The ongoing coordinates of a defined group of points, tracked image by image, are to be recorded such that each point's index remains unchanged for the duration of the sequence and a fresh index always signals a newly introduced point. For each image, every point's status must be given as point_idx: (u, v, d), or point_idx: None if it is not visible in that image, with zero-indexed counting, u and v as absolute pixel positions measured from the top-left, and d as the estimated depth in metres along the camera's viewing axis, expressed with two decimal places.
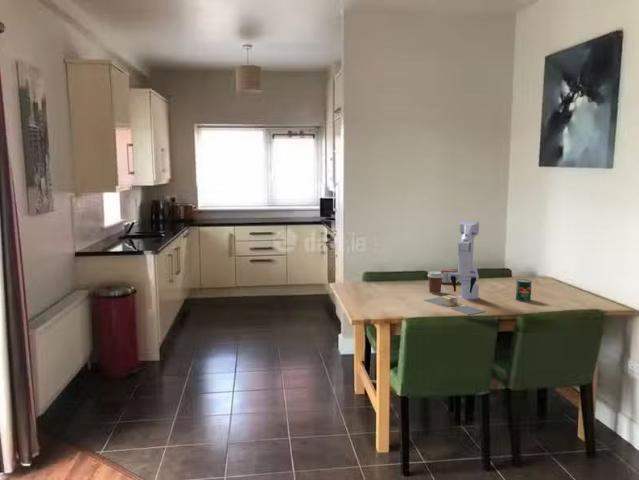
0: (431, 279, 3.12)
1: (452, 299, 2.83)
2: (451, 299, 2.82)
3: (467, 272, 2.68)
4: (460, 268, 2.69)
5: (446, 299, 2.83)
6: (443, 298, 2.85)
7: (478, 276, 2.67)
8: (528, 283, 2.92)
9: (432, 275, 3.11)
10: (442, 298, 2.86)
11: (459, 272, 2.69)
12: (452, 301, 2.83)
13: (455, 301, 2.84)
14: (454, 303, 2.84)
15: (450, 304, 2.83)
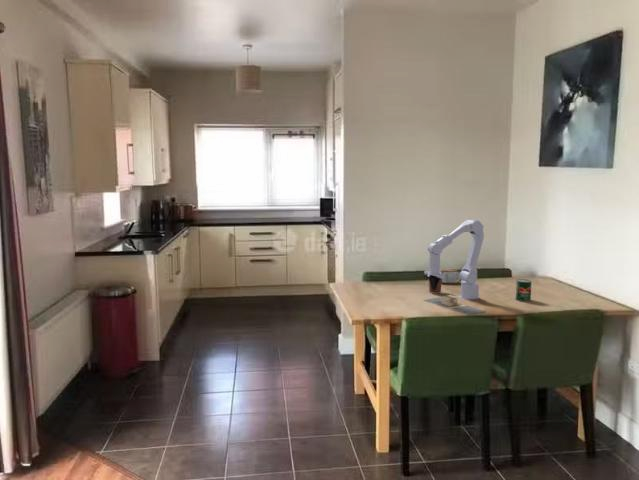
0: None
1: (452, 299, 2.83)
2: (451, 299, 2.82)
3: (434, 272, 2.92)
4: (429, 268, 2.94)
5: (446, 299, 2.83)
6: (443, 298, 2.85)
7: (443, 276, 2.88)
8: (528, 283, 2.92)
9: None
10: (442, 298, 2.86)
11: (429, 271, 2.95)
12: (452, 301, 2.83)
13: (455, 301, 2.84)
14: (454, 303, 2.84)
15: (450, 304, 2.83)
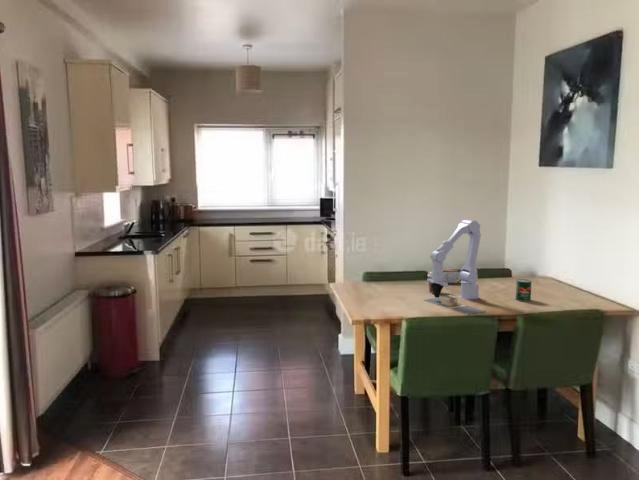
0: None
1: (452, 299, 2.83)
2: (451, 299, 2.82)
3: (437, 280, 2.90)
4: (432, 275, 2.93)
5: (446, 299, 2.83)
6: (443, 298, 2.85)
7: (446, 284, 2.87)
8: (528, 283, 2.92)
9: None
10: (442, 298, 2.86)
11: (432, 279, 2.93)
12: (452, 301, 2.83)
13: (455, 301, 2.84)
14: (454, 303, 2.84)
15: (450, 304, 2.83)
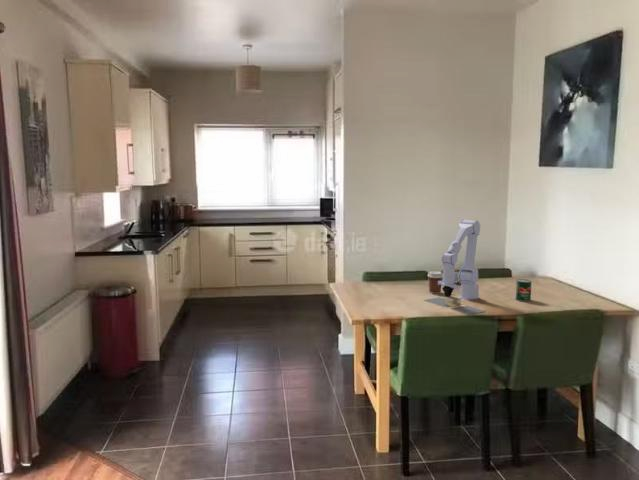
0: (431, 279, 3.12)
1: (455, 300, 2.81)
2: (454, 300, 2.80)
3: (448, 283, 2.83)
4: (443, 278, 2.85)
5: (449, 300, 2.81)
6: (446, 299, 2.83)
7: (457, 287, 2.79)
8: (528, 283, 2.92)
9: (432, 275, 3.11)
10: (445, 298, 2.84)
11: (443, 282, 2.86)
12: (455, 302, 2.81)
13: (458, 302, 2.82)
14: (457, 304, 2.82)
15: (453, 305, 2.81)
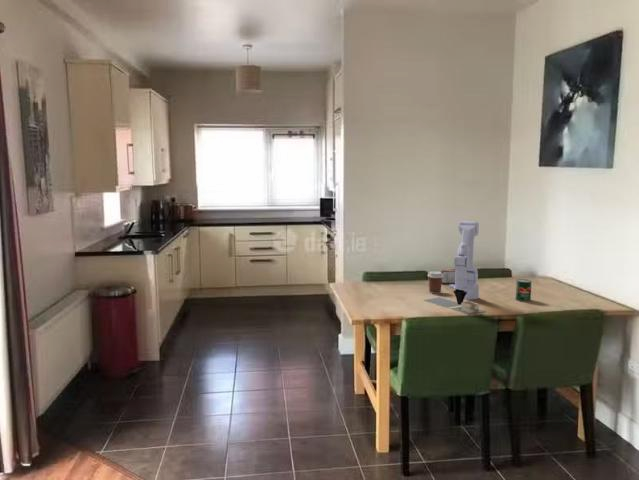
0: (431, 279, 3.12)
1: (473, 306, 2.69)
2: (472, 306, 2.69)
3: (460, 286, 2.75)
4: (455, 281, 2.77)
5: (466, 305, 2.70)
6: (463, 304, 2.72)
7: (470, 291, 2.71)
8: (528, 283, 2.92)
9: (432, 275, 3.11)
10: (462, 304, 2.73)
11: (455, 285, 2.78)
12: (473, 308, 2.69)
13: (476, 308, 2.70)
14: (475, 310, 2.70)
15: (471, 311, 2.69)
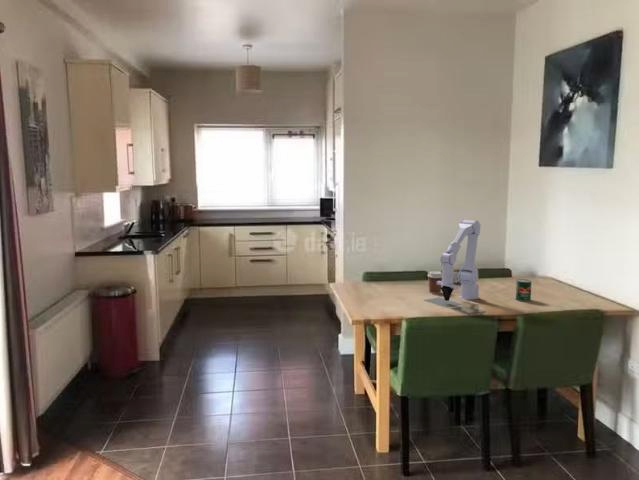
0: (431, 279, 3.12)
1: (473, 306, 2.69)
2: (472, 306, 2.69)
3: (447, 282, 2.83)
4: (442, 278, 2.86)
5: (466, 305, 2.70)
6: (463, 304, 2.72)
7: (456, 287, 2.80)
8: (528, 283, 2.92)
9: (432, 275, 3.11)
10: (462, 304, 2.73)
11: (442, 282, 2.87)
12: (473, 308, 2.69)
13: (476, 308, 2.70)
14: (475, 310, 2.70)
15: (471, 311, 2.69)
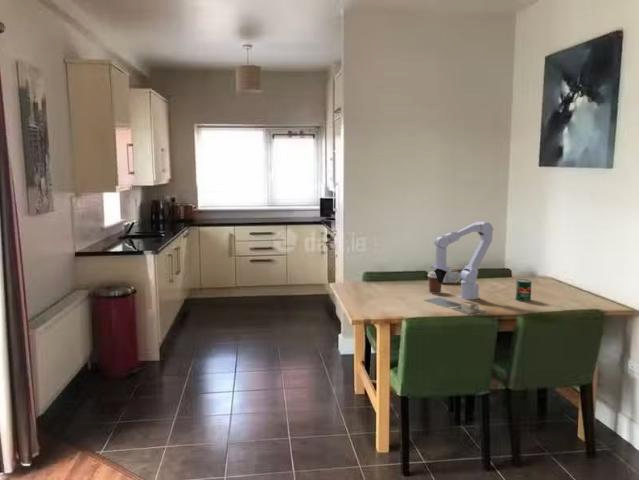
0: (431, 279, 3.12)
1: (473, 306, 2.69)
2: (472, 306, 2.69)
3: (440, 265, 2.93)
4: None
5: (466, 305, 2.70)
6: (463, 304, 2.72)
7: (449, 270, 2.90)
8: (528, 283, 2.92)
9: (432, 275, 3.11)
10: (462, 304, 2.73)
11: (435, 265, 2.97)
12: (473, 308, 2.69)
13: (476, 308, 2.70)
14: (475, 310, 2.70)
15: (471, 311, 2.69)
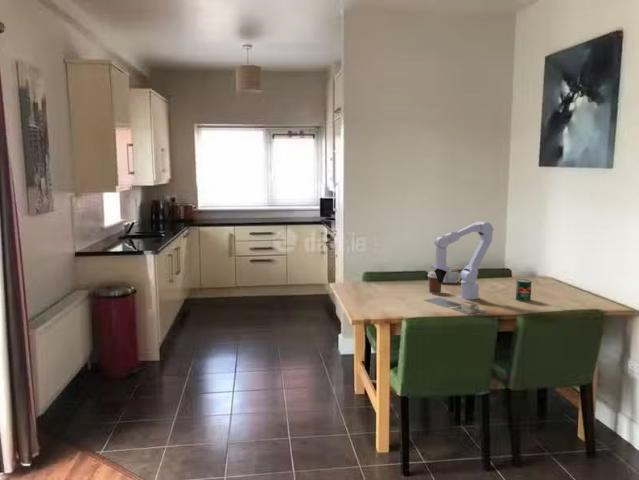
0: (431, 279, 3.12)
1: (473, 306, 2.69)
2: (472, 306, 2.69)
3: (440, 265, 2.93)
4: None
5: (466, 305, 2.70)
6: (463, 304, 2.72)
7: (449, 270, 2.90)
8: (528, 283, 2.92)
9: (432, 275, 3.11)
10: (462, 304, 2.73)
11: (435, 265, 2.97)
12: (473, 308, 2.69)
13: (476, 308, 2.70)
14: (475, 310, 2.70)
15: (471, 311, 2.69)
